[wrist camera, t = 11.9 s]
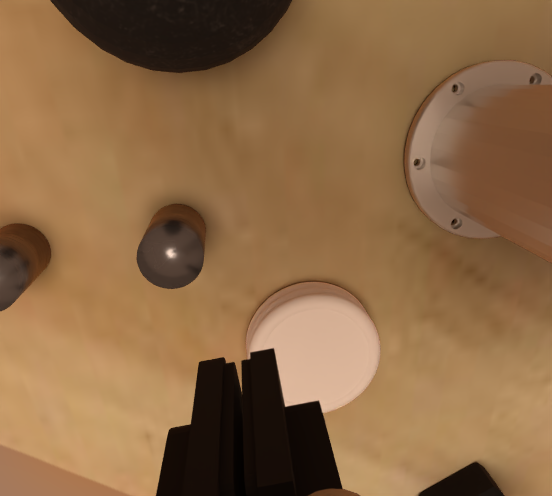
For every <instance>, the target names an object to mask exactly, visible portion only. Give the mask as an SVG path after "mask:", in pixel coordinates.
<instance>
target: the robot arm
mask: <svg viewBox="0 0 552 496" xmlns="http://www.w3.org/2000/svg"><path fill="white" fill-rule="evenodd" d="M530 77H531V82H530V81H529V80H530ZM453 85H455V91H454V92H452V86H453ZM415 159H418V163H417V164H416V165H413V164H414V161H415ZM404 168H405V174H406V180H407V184H408V187H409V190H410V192H411V195H412V198H413V199H414V201H415V202H416V204H417V205H418V207H419V209H420V210H421V211H422V212H423V213H424V214H425V215H426V216H427V217H428V218H429V219H430V220H431V221H432V222H434V223H435V224H437V225H438V226H439V227H441V228H443V229H444V230H446V231H448V232H450V233H452V234H455V235H459V236H463V237H466V238H476V239H487V238H494V237H500V236H502V237H504V238H506V239H508V240H510V241H512V242H513V243H515V244H517V245H519V246H521V247H523V248H524V249H526V250H528V251H530V252H532V253H534V254H535V255H537V256H539V257H541V258H543V259H545V260H546V261H548V262H550V263H552V76H550V75H549V74H548V73H547V72H545V71H544V70H542V69H540V68H538V67H536V66H534V65H531V64H528V63H524V62H519V61H515V60H496V61H488V62H482V63H479V64H476V65H472V66H469V67H466V68H464V69H463V70H461V71H459V72H457V73H455V74H453V75H451V76H450V77H449V78H447V79H446V80H445V81H444V82H442V83H441V84H440V85H439V86H438V87H436V88H435V90H434V91H433V92H432V93H431V94H430V95H429V96H428V98H427V99H426V100H425V101H424V103H423V104H422V106H421V107H420V109H419V111H418V112H417V114H416V116H415V118H414V120H413V123H412V125H411V128H410V130H409V133H408V137H407V142H406V147H405V159H404ZM453 219H454V222H453V223H451V222H452V220H453ZM156 496H360V495H358V494H357V493H354V492H351V491H348V490H345V489H342V485H341V481H340V477H339V473H338V470H337V466H336V462H335V458H334V454H333V451H332V447H331V443H330V439H329V435H328V432H327V428H326V424H325V420H324V416H323V413H322V409H321V405H320V402H319V400H318V401H313V402H307V403H302V404H297V405H291V406H286V407H285V403H284V398H283V393H282V387H281V382H280V377H279V371H278V366H277V361H276V356H275V350H274V348H271V349H266V350H260V351H255V352H250V359H248V360H242V392H241V388H240V383H239V379H238V374H237V369H236V365H235V363H234V362H231V363H226V361H225V358H224V357H223V358H217V359H212V360H206V361H201V362H199V366H198V373H197V381H196V389H195V397H194V404H193V412H192V420H191V424H190V425H185V426H180V427H174V428H171V429H170V430H169V432H168V436H167V441H166V446H165V451H164V457H163V462H162V467H161V472H160V478H159V483H158V488H157V493H156Z"/></svg>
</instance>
